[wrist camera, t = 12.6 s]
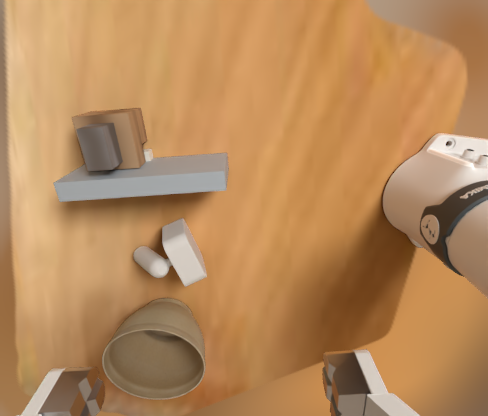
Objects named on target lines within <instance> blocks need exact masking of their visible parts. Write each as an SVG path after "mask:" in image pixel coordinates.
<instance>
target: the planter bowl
mask: <svg viewBox="0 0 488 416" xmlns="http://www.w3.org/2000/svg"><path fill="white" fill-rule="evenodd" d="M102 365H103V369H104V372H105V374H106V376H107V377H108V379H109V380H110V381H111V382H112V383H113V384H114V385H115V386H117V387H118V388H119V389H121V390H123V391H124V392H126V393H128V394H131V395H133V396H136V397H140V398H145V399H154V400H162V399H171V398H176V397H179V396H182V395H185V394H187V393H189V392H190V391H192V390H193V389H194V388H196V387H197V386H198V385H199V383H200V382H201V380H202V379H203V376H204V373H205V346H204V339H203V336H202V332H201V330H200V327H199V325H198V323H197V321H196V320H195V318H194V317H193V315H192V312H191V310H190V309H189V308H188V306H186V305H185V304H184V303H182V302H180V301H178V300H175V299H170V298H161V299H156V300H154V301H152V302H150V303H149V304H147V305H146V306H145V307H143V308H141V309H139V310H138V311H136V312H135V313H133V314H132V315H131V316H130V317H128V318H127V319H126V320H125V321H124V322H123V323H122V325H121V326H120V327H119V328H118V330H117V331H116V333H115V334H114V336H113V338H112V339H111V340H110V342H109V343H108V345H107V346H106V348H105V350H104V352H103V356H102Z"/></svg>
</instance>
